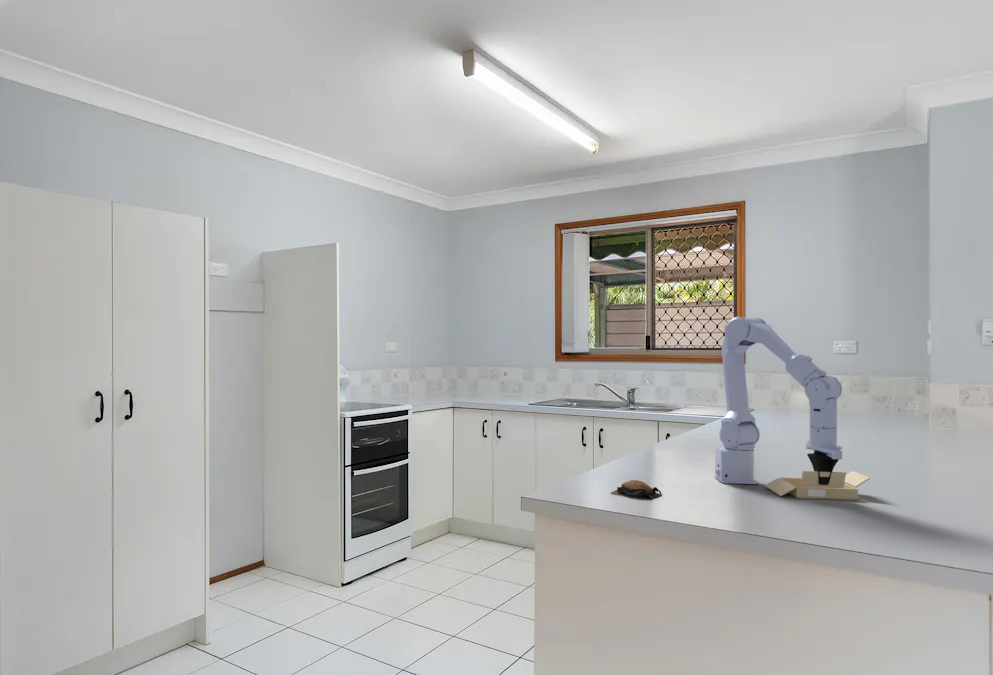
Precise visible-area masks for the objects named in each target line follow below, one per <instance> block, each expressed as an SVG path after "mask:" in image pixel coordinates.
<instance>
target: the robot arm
mask: <svg viewBox="0 0 993 675" xmlns="http://www.w3.org/2000/svg"><path fill="white" fill-rule="evenodd" d="M755 344H760V345H761V344H762V345H763V346H764V347H765V348H766V349H768V350H769V351H771V352H772V353H773V354H774V355H775V356H776V357H777V358H778V359H780V361H782V362H784V363H785V371H786V372H787V373H788V374H789V375H790V376H791V377H792V378H793V379H794V380H795V381H796V382H797V383H798V384H799V385H801V387H803V388H804V389H803V390H804V394H805V396H806V397H807V399H808V401H809V402H808V404H809V440H805V449H806V450H810V451H813V452H812V453H811V452H810V453H807V457H808V459H809V460H810V463H811V466H812V468H813V471H818V482H819V485H828V484H829V481H830V478H831V474H832V472H834V468H835V466H836V465H837V463H838V462H839V460H843V450H842V448H843V446H842V445H837V444H838V440H837V439H838V433H837V432H838V403H837V402H838V398H840V396H841V395H842V392H843V388H842V385H841V383H840V381H839V380H838V378H837V377H835V376H831V375H827V371H825V370H823V369H821V368H819V367H818V366H817V365H816V364H815V363H814V362H813V358H812V357H811V356H810V355H805V354H803V353H802V354H800V353H799V354H797V353H796V352H795V351H794V350H793V349H792V348H791V347H790V346H789V345H788V344H787V343H786V342H785V341H784V339H782V338H781V336H779V335H778V334H777V332H775V331H774V329H773V327H772V326H771V325H770V324H768V323H767V322H766V321H765V320H764V319H762V318H760V317H753V318H752V317H743V316H735V317H733V318H731V319H730V320H729V321H728V322H727V323H726V325H724V338H723V341H722V345H721V358H722V367H723V368H722V370H723V377H724V378H723V379H724V390H725V402H726V413H725V415H724V416H722V419H721V426H720V430H719V439H720V441H721V443H722V444H723V447H717V448H716V450H715V458H714V460H715V461H714V463H715V465H714V466H715V467H714V469H715V470H714V478H715V479H716V480H718V481H719V482H720V483H722V484H739V485H742V484H744V485H760V482H759V481H757V480H756V479H755V478H754V477H755V476H754V475H755V472H754V471H755V470H754V469H755V467H754V465H755V448H756V444H757V443H758V442H759V441H760V437H761V433H760V429H759V428H758V426H757V424H756V423H757V422H756V418H755V416H754V415H753V414H752V413H751V412H750V409H749V397H748V387H747V378H746V366H745V356H744V355H745V353H746V352H747V350H749V349H750V348H751V347H752V346H753V345H755ZM820 472H830V475H829V477H820Z"/></svg>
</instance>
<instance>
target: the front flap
mask: <svg viewBox="0 0 993 675" xmlns="http://www.w3.org/2000/svg"><path fill="white" fill-rule="evenodd" d="M829 475H830V472H820V477H829ZM846 475H847V471H846V472H844V471H843V472H842V471H832V474H831V478H830V481H829V484H828V485H819V482H818V471H814V470H812V471H810V470H809V471H808V470H803V471H802V473H801V478H802V480H801V487H826V488H844V483H845V477H846ZM845 484H846V483H845Z"/></svg>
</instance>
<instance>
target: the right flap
mask: <svg viewBox="0 0 993 675" xmlns="http://www.w3.org/2000/svg"><path fill="white" fill-rule="evenodd" d="M869 480H871V478H870V476H866V475H864V474H862V473H859V472H856V471H855V470H852V471H849V473H846V477H845V484H847V485H850V486H852V487H854V488H858V487H859V486H861V485H862V484H864V483H866V482H867V481H869Z"/></svg>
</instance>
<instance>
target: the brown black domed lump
mask: <svg viewBox="0 0 993 675" xmlns="http://www.w3.org/2000/svg"><path fill="white" fill-rule="evenodd" d="M616 488H617V489H616V490H613V491H611V492H610V495H614V496H620V497H624V498H625V497H626V498H631V499H637V500H643V501H653V500H656V499H657V498H660V497H662V496H663V494H662V491H661V490H660V489H659V488H658V487H657V486H655V487H653V488H652V487H651V486H650V485H649V484H647V483H646V482H644V481H642V480H637V479H632V480H628V481H625V482H622V483H621V486H618V487H617V486H616Z"/></svg>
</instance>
